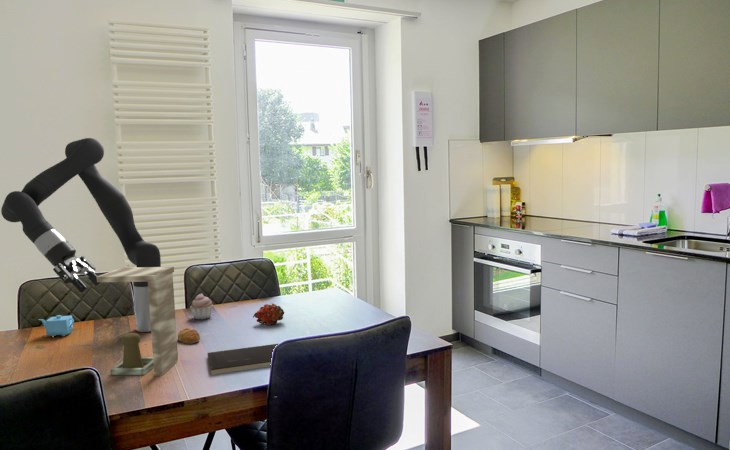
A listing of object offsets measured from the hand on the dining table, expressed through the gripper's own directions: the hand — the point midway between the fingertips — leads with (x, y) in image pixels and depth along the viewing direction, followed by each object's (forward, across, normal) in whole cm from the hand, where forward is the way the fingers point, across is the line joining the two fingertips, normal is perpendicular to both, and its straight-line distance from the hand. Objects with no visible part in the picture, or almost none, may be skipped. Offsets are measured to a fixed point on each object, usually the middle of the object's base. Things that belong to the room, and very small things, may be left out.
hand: (92, 287), depth 167 cm
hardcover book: (+49, +2, -19) cm, 53 cm away
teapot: (-1, +32, +41) cm, 52 cm away
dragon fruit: (+49, +42, -18) cm, 67 cm away
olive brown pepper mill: (+27, -4, +6) cm, 28 cm away
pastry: (+33, +24, +1) cm, 41 cm away
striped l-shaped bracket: (+29, -3, +4) cm, 29 cm away
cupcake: (+30, +53, +5) cm, 61 cm away
